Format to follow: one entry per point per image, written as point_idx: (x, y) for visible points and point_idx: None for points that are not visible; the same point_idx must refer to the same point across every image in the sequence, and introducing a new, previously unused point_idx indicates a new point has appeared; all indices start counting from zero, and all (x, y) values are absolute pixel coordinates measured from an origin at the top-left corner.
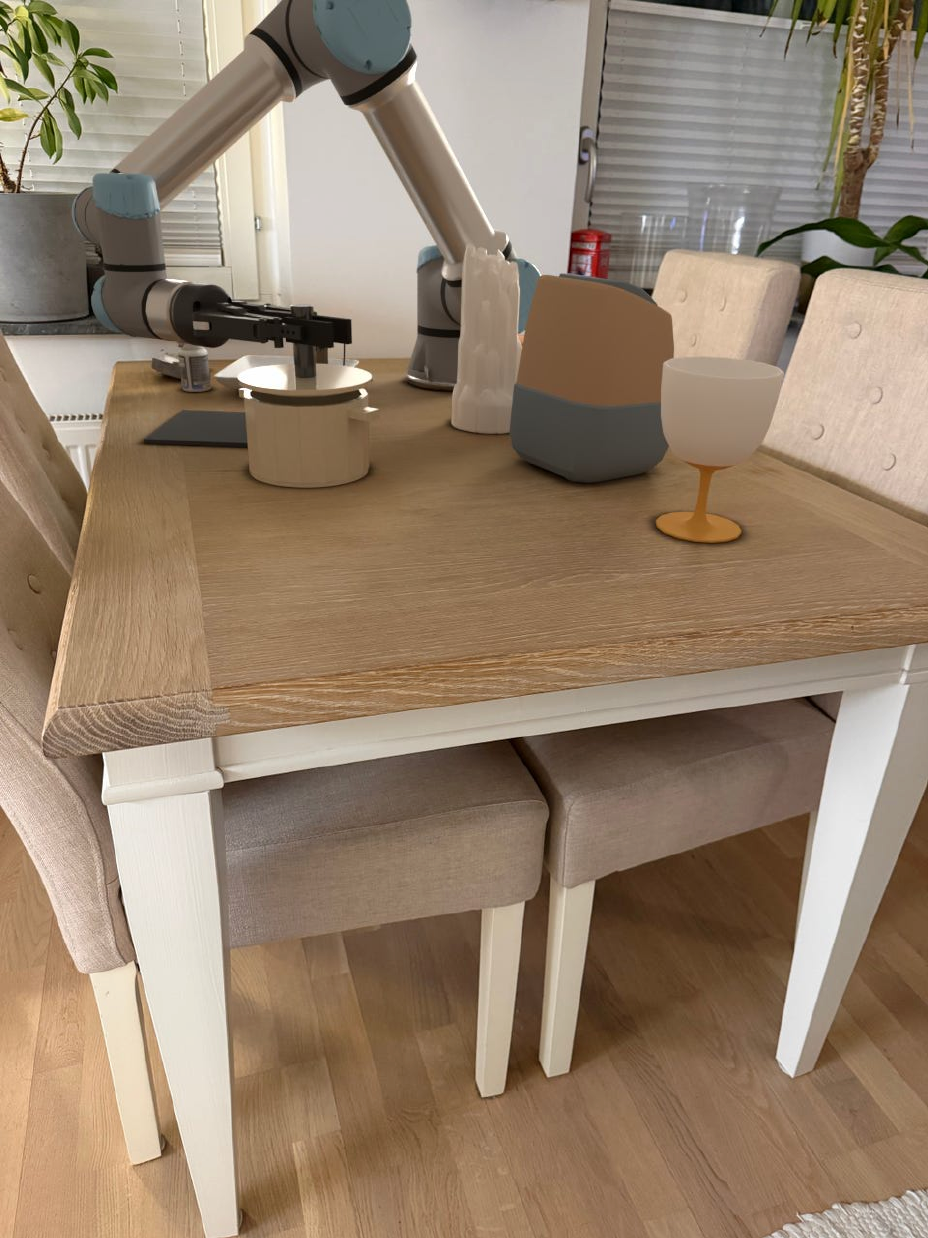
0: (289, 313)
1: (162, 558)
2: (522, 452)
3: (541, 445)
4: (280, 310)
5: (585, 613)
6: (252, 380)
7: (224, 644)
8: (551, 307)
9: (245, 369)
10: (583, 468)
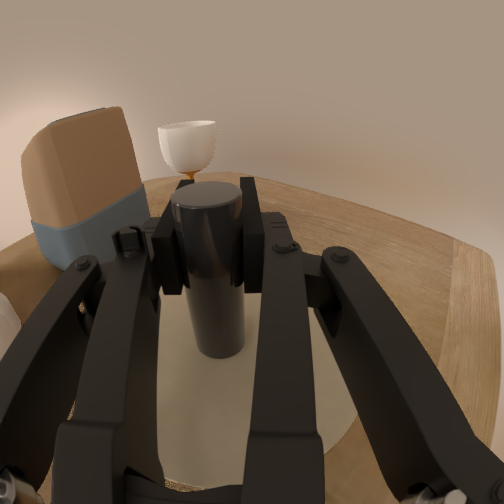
0: (139, 288)
1: (465, 321)
2: None
3: None
4: (24, 388)
5: (315, 201)
6: (342, 379)
7: (447, 249)
8: (85, 138)
9: None
10: None
